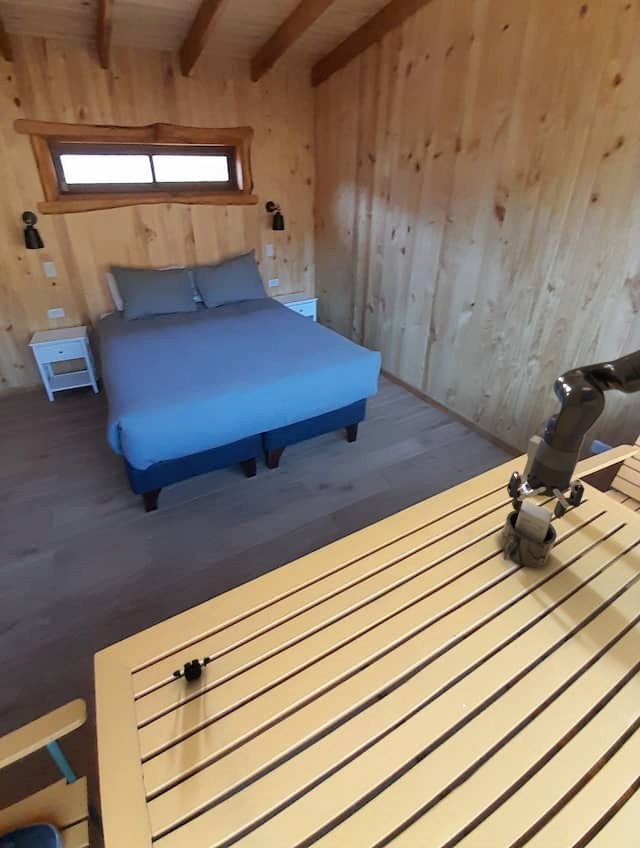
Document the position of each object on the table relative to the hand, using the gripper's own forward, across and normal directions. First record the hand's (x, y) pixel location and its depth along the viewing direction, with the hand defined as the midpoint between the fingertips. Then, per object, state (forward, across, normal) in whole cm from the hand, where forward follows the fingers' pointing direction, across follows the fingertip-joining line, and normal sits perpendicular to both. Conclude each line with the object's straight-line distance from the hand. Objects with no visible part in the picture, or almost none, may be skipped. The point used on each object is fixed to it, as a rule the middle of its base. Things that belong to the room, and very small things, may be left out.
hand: (536, 512), depth 95 cm
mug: (+12, -1, -1) cm, 13 cm away
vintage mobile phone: (+13, +7, +24) cm, 28 cm away
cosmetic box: (+12, 0, 0) cm, 12 cm away
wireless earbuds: (+12, -68, -46) cm, 83 cm away
